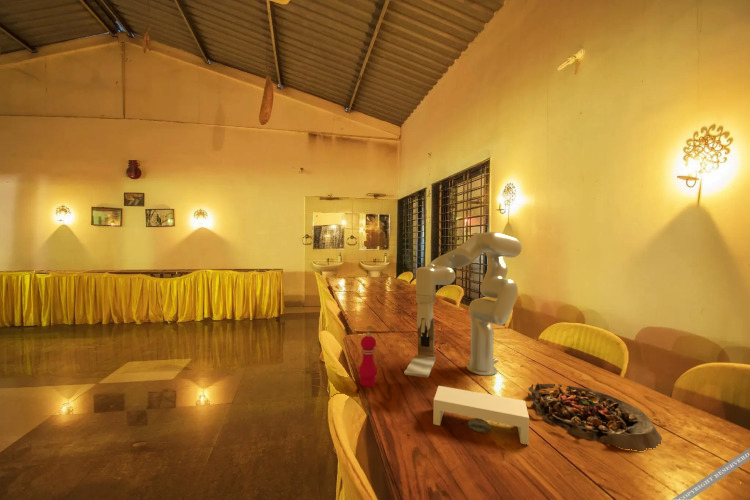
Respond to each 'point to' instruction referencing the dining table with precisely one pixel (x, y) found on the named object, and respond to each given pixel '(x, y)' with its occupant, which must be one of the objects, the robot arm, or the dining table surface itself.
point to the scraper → (423, 356)
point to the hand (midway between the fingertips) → (426, 344)
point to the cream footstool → (482, 408)
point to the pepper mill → (368, 361)
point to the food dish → (595, 416)
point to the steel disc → (478, 425)
